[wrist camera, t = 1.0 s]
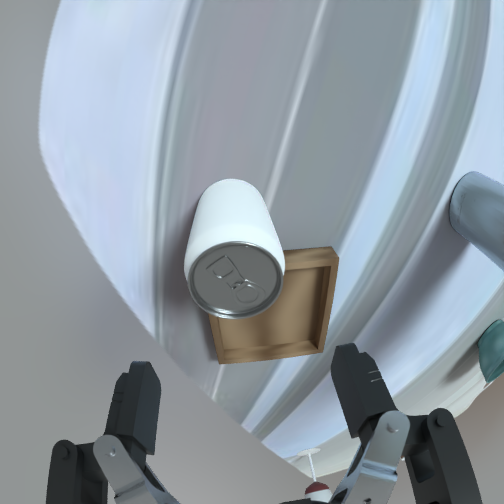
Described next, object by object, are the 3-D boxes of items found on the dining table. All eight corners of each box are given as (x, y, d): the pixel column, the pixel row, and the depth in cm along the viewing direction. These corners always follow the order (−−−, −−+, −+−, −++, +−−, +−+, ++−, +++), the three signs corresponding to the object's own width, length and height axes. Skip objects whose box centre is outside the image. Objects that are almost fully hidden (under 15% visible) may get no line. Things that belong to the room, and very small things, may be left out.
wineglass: (308, 447, 63) (321, 504, 46) (326, 448, 66) (339, 500, 49) (289, 455, 66) (299, 509, 49) (308, 456, 69) (319, 506, 52)
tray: (331, 246, 29) (339, 258, 27) (318, 339, 37) (322, 352, 35) (201, 257, 29) (200, 270, 26) (218, 350, 36) (219, 364, 34)
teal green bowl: (496, 339, 51) (514, 364, 41) (460, 363, 52) (478, 392, 42) (515, 299, 43) (538, 325, 33) (479, 324, 44) (503, 356, 34)
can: (225, 251, 28) (227, 338, 18) (184, 205, 26) (157, 277, 15) (277, 215, 27) (310, 289, 17) (237, 163, 24) (247, 211, 14)
